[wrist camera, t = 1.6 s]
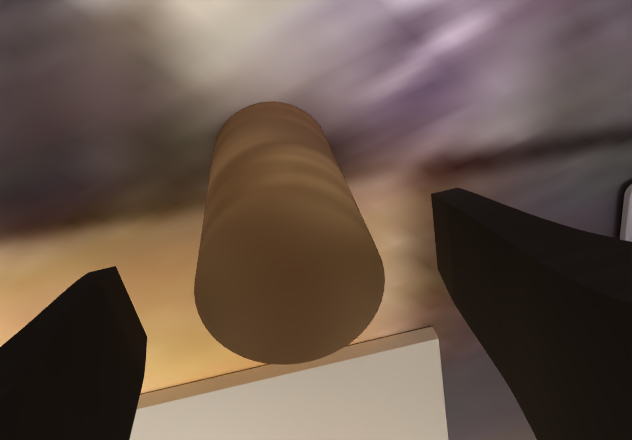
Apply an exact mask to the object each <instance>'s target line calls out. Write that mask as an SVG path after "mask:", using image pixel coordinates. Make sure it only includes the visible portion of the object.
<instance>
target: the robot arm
mask: <svg viewBox="0 0 632 440" xmlns="http://www.w3.org/2000/svg"><path fill="white" fill-rule="evenodd" d="M431 197H432V208H433V220H434V231H435V242H436V254H437V265H438V270H439V272H440V275H441V277H442V279H443V281H444V283H445V285H446V288H447V290H448V292H449V294H450V296H451V298H452V300H453V302H454V304H455V305H456V307H457V308H458V310H459V311H460V313H461V315H462V316H463V318H464V319H465V321H466V322H467V324H468V325H469V327H470V328H471V330H472V331H473V333H474V334H475V336H476V337H477V339H478V340H479V342H480V343H481V345H482V346H483V348H484V349H485V351H486V352H487V354H488V355H489V357H490V358H491V360H492V361H493V363H494V364H495V366H496V367H497V368H498V370H499V371H500V373H501V374H502V376H503V377H504V379H505V381H506V382H507V384H508V386H509V387H510V389H511V391H512V392H513V394H514V396H515V398H516V400H517V402H518V403H519V405H520V407H521V409H522V411H523V413H524V415H525V417H526V419H527V421H528V423H529V425H530V426H531V428H532V430H533V432H534V434H535V436H536V438H537V440H632V184H631V185H630V186H629V187H628V188H627V189H626V191H625V195H624V203H623V212H622V222H621V231H620V239H616V238H611V237H607V236H603V235H598V234H594V233H590V232H586V231H582V230H578V229H575V228H571V227H568V226H565V225H561V224H558V223H555V222H552V221H548V220H545V219H542V218H539V217H537V216H534V215H531V214H528V213H525V212H522V211H520V210H517V209H514V208H512V207H509V206H506V205H504V204H501V203H499V202H496V201H494V200H491V199H488V198H486V197H483V196H481V195H478V194H475V193H473V192H470V191H467V190H464V189H460V188H455V189H450V190H446V191H442V192H437V193H433V194H431ZM146 346H147V336H146V333H145V331H144V329H143V327H142V324H141V322H140V320H139V318H138V315H137V313H136V311H135V309H134V306H133V304H132V302H131V300H130V297H129V295H128V293H127V291H126V288H125V286H124V284H123V282H122V279H121V277H120V275H119V273H118V270H117V268H116V266H115V267H110V268H106V269H102V270H97V271H93V272H89V273H87V274H86V275H84V276H83V277H81V278H80V279H79V280H77V281H76V282H75V283H74V284H73V285H71V286H70V287H69V288H68V289H67V290H66V291H64V292H63V293H62V294H61V295H60V296H59V297H58V298H56V299H55V300H54V301H53V302H52V303H51V304H50V305H49V306H47V307H46V308H45V309H44V310H43V311H42V312H41V313H40V314H38V315H37V316H36V317H35V318H34V319H33V320H32V321H31V322H29V323H28V324H27V325H26V326H25V327H24V328H23V329H21V330H20V331H19V332H18V333H17V334H16V335H14V336H13V337H12V338H11V339H9V340H8V341H7V342H6V343H5V344H3V345H2V346H1V347H0V440H130V436H131V431H132V427H133V423H134V419H135V414H136V410H137V406H138V401H139V397H140V393H141V388H142V384H143V379H144V372H145V361H146Z"/></svg>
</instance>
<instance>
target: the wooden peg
mask: <svg viewBox="0 0 632 440" xmlns="http://www.w3.org/2000/svg"><path fill="white" fill-rule="evenodd" d="M384 283H385V277H384V268H383V264H382V260H381V257H380V255H379V252H378V250H377V248H376V246H375V243H374V241H373V239H372V237H371V235H370V233H369V230H368V228H367V226H366V224H365V222H364V220H363V217H362V215H361V213H360V211H359V209H358V207H357V204H356V202H355V200H354V198H353V196H352V194H351V191H350V189H349V187H348V185H347V183H346V181H345V178H344V176H343V174H342V172H341V170H340V168H339V165H338V163H337V161H336V159H335V157H334V155H333V152H332V150H331V148H330V146H329V144H328V142H327V139H326V137H325V135H324V133H323V131H322V130H321V128H320V126H319V125H318V124H317V122H316V121H315V120H314V119H313V118H312V117H311V116H310V115H308V114H307V113H306V112H304V111H303V110H301V109H299V108H297V107H295V106H292V105H289V104H285V103H280V102H263V103H257V104H254V105H250V106H248V107H246V108H244V109H242V110H240V111H239V112H237V113H236V114H234V115H233V116H232V117H231V118H230V119H229V120H228V121H227V122H226V123H225V124H224V126H223V127H222V129H221V130H220V132H219V134H218V136H217V139H216V142H215V145H214V150H213V157H212V164H211V171H210V178H209V185H208V192H207V199H206V206H205V213H204V220H203V228H202V235H201V242H200V249H199V256H198V263H197V270H196V277H195V287H194V295H195V303H196V307H197V310H198V314H199V316H200V318H201V320H202V322H203V324H204V325H205V327H206V328H207V330H208V331H209V332H210V334H211V335H212V336H213V337H214V338H215V339H216V340H217V341H218V342H219V343H221V344H222V345H223V346H224V347H226V348H227V349H229V350H230V351H232V352H234V353H236V354H238V355H240V356H242V357H245V358H247V359H250V360H253V361H257V362H262V363H268V364H278V365H289V364H300V363H305V362H310V361H314V360H317V359H321V358H323V357H326V356H328V355H331V354H333V353H335V352H336V351H338V350H340V349H342V348H343V347H345V346H346V345H348V344H349V343H351V342H352V341H353V340H354V339H356V338H357V337H358V336H359V335H360V334H361V333H362V332H363V331H364V330H365V329H366V328H367V326H368V325H369V324H370V322H371V321H372V320H373V318H374V316H375V314H376V312H377V311H378V308H379V306H380V303H381V301H382V296H383V292H384Z"/></svg>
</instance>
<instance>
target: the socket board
mask: <svg viewBox="0 0 632 440" xmlns="http://www.w3.org/2000/svg"><path fill="white" fill-rule="evenodd" d="M130 440H448V433H447V422H446V412H445V402H444V391H443V381H442V370H441V360H440V350H439V339H438V337H437V335H436V333H435V331H434V329H433V327H427V328H423V329H419V330H415V331H410V332H406V333H402V334H398V335H393V336H389V337H385V338H380V339H376V340H372V341H368V342H363V343H359V344H355V345H351V346H346V347H343V348H342V349H340V350H338V351H336V352H335V353H333V354H331V355H328V356H326V357H323V358H321V359H317V360H314V361H310V362H305V363H300V364H289V365H278V364H269V365H265V366H261V367H257V368H252V369H248V370H244V371H239V372H235V373H231V374H227V375H222V376H218V377H214V378H210V379H205V380H201V381H197V382H192V383H188V384H184V385H180V386H175V387H171V388H167V389H163V390H158V391H154V392H150V393H145V394H141V395H140V397H139V401H138V406H137V410H136V414H135V419H134V423H133V427H132V431H131V436H130Z"/></svg>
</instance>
